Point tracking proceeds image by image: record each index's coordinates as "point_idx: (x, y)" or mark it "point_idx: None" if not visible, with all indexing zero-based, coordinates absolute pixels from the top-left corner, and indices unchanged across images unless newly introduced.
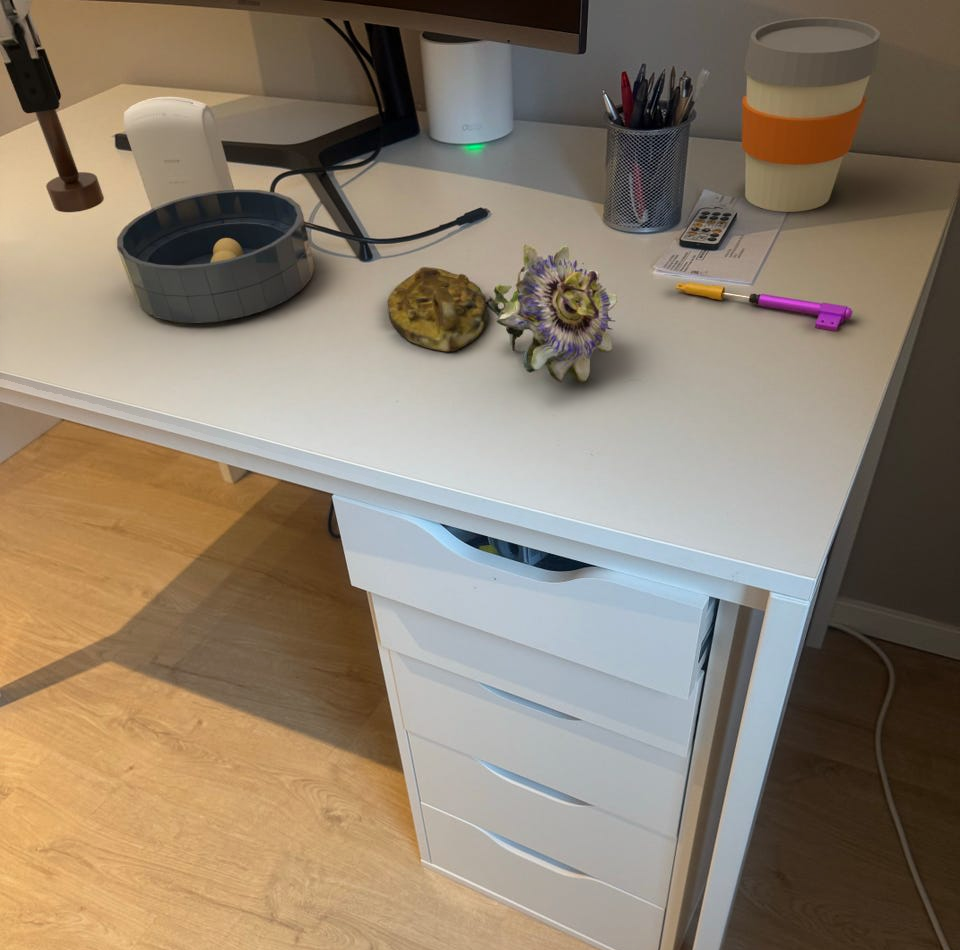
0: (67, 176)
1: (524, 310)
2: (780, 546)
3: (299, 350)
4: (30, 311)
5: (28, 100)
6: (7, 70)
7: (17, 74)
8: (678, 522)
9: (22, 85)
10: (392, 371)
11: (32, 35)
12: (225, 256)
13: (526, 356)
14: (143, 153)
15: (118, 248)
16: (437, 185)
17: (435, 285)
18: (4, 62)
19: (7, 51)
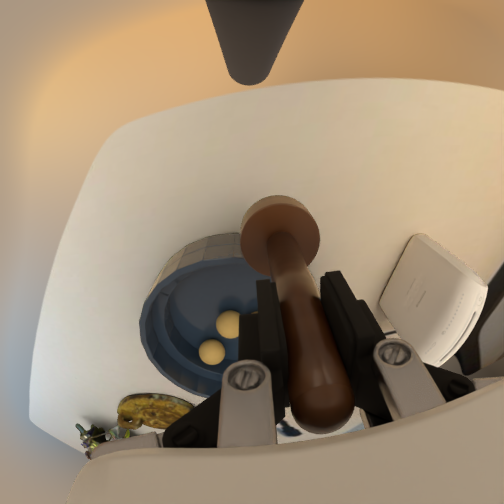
0: (266, 248)
1: (83, 443)
2: (36, 423)
3: (120, 349)
4: (235, 114)
5: (240, 315)
6: (261, 337)
7: (239, 354)
8: (36, 413)
9: (238, 337)
10: (100, 383)
11: (364, 421)
12: (223, 334)
13: (78, 428)
14: (441, 275)
15: (199, 262)
16: (351, 417)
17: (171, 420)
18: (269, 350)
19: (194, 410)
